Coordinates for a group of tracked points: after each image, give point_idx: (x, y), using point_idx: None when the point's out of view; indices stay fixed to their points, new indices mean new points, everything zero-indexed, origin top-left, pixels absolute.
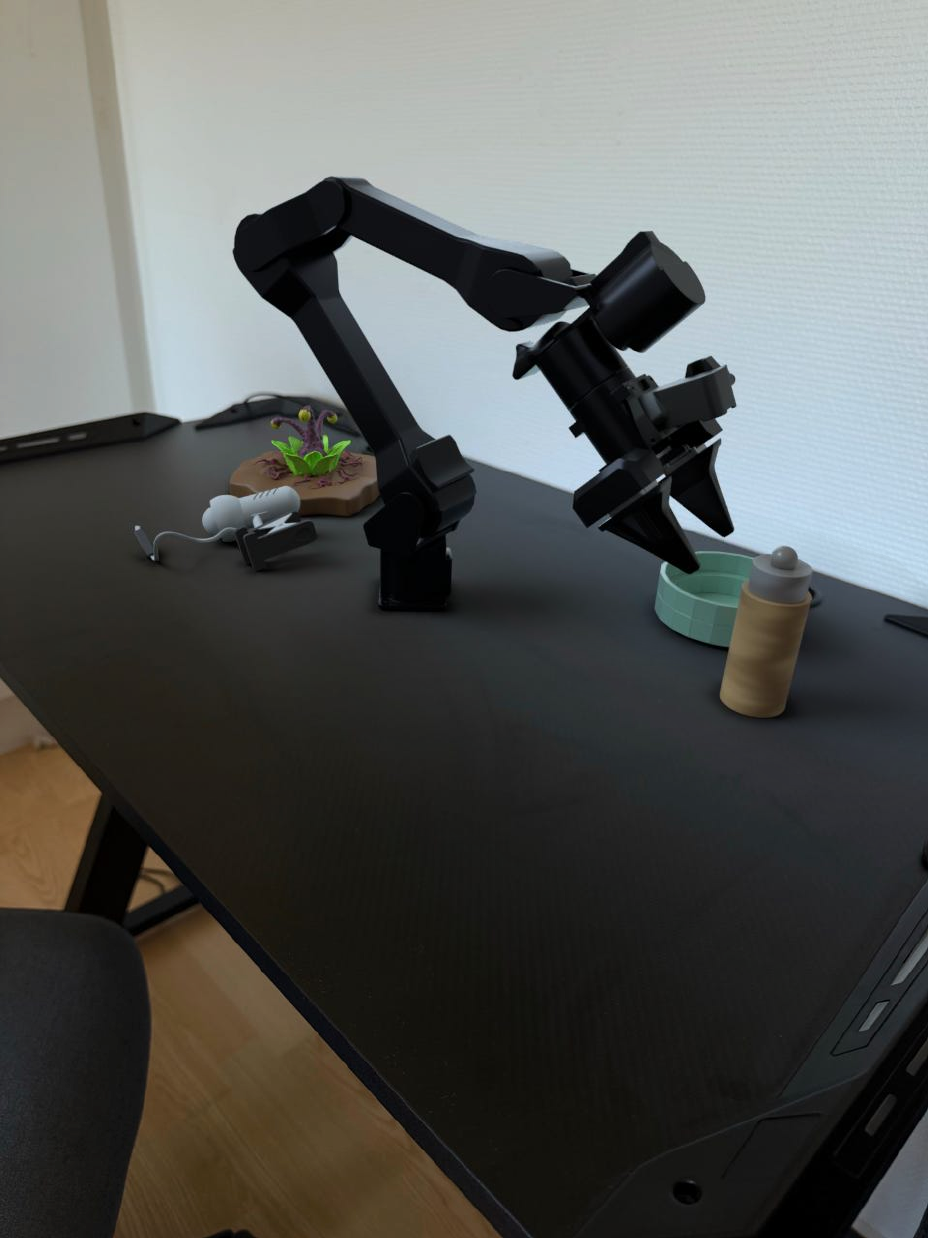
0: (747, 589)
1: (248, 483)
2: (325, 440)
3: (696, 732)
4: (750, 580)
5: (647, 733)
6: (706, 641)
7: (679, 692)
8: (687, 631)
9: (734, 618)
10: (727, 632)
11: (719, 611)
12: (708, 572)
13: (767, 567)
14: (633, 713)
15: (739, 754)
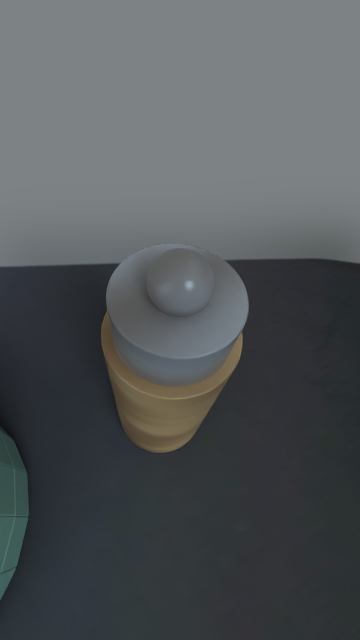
0: (204, 382)
1: None
2: None
3: (275, 448)
4: (211, 369)
5: (325, 507)
6: (25, 525)
7: (199, 508)
8: (10, 575)
9: (6, 475)
10: (19, 486)
11: (3, 510)
12: None
13: (218, 318)
14: (298, 550)
15: (279, 392)
